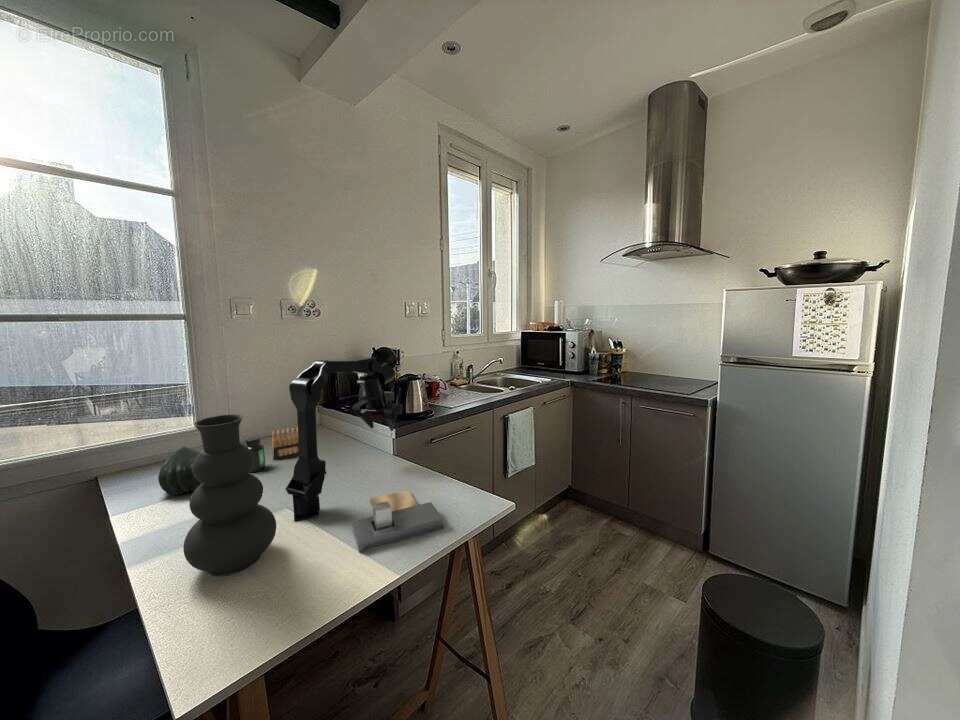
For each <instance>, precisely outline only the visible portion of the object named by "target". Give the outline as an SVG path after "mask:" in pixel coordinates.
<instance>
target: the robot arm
mask: <svg viewBox="0 0 960 720" xmlns="http://www.w3.org/2000/svg"><path fill="white" fill-rule="evenodd" d="M334 373H335V374H336V373H337V374H338V373H357V374H365V375H364V376H362V375H361V376H359V378H358V379H357V381H356V384H357V385H362V388H363V392H364V395H363V396H362V399H360V401H358V402H357V403H355V404H353V405H352V408H351V409H352V413H353V414H355V416H357V417H358V418H360V419H361V420H362V421H363V422H365V424H366V425H367V426H368V427H369V428H370V429H373V428H374V427H375V426H374V420H373V415H372V412H381V413H382V412H383V414H384V416H385V417H384V419H385V423H386V424H387V426H388V428H389V430H390V431H391V432H393V431H394V429H395V424H396V419H397V417H398V416H399V415H400V414H401V413H403V411H404V407H403V404H401V403H394V402H393V401H395V391H385V390H384V389H382V387H381V386H384V385H386V384H388V383H389V382H391V381H392V380H393V379H395V377H396V371H395V370H394V368H393V367H392V366H390V363H389V362H382V363H379V362H378V360H377V358H376V357H372V356H371V357H367V356H359V357H353V358H352V359H348V360H326V359H325V360H323V359H317V360H314V362H313V363H312V364H311V366H309V367H308V368H306V369H304V370H303V371H302V372H300V374H298V376H297V377H296V378H295V379H293V380H292V382H290V383H289V386H288V388H289V389H288V390H289V395H290V399H291V401H292V403H293V405H294V407H295V408H296V411H297V412H296V414H297V416H296V417H297V426H298V442H299V455H298V459H297V461H296V462H295V465H294V466H293V467H294V468H293V474H292V475H293V476H292V478H291V479H290V481H288V482H289V483H288V484H287V486H286V488H285V491H286V493H287V494H288V495H290V496H292V503H293V504H292V505H293V521H294V522H297V521H302V520H306V519H309V518H314V517H319V515H320V511H321V505H320V504H321V503H320V494H322V491H323V490H322V489H323V486H324V482H325V479H326V475H327V470H326V466H327V465H326V463H327V462H326V460H325V459H320V458H319V455H318V437H317V435H318V432H317V407H318V404H319V403H320V401H321V397H322V391H323V389H324V388H325V387H326V385H327V383H328V380H329V376H330V375H331V374H334ZM315 377H316V378H315ZM390 401H391V402H393V403H390V404H389V402H390ZM387 404H389V405H388V406H387ZM385 405H386V406H385Z"/></svg>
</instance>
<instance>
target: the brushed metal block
mask: <svg viewBox="0 0 960 720" xmlns="http://www.w3.org/2000/svg"><path fill="white" fill-rule="evenodd" d="M372 512H373V513H372V514H373V515H372V516H373V518H374V530H375V531H378V530H382V529H386V528H389V527H392V511H391V506H390V504H389V502H388V501H385V502H381V503H377V504H373V508H372Z"/></svg>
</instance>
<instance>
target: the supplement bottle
mask: <svg viewBox="0 0 960 720" xmlns="http://www.w3.org/2000/svg"><path fill="white" fill-rule="evenodd" d="M244 445H245V446H247V447H248V448H249V449H250V450H251V451H252V453H253V456H254V463H253V466H252V468H251V470H250V471H249V472H248V473H250V474H252V473H257V472H258V473H259V472H262V471H263V470H265V468H266V466H267V465H266V464H267V463H266V455H265V446H264V445H263V443H262V442H261V437H260V436H252V437H247V438H245V440H244Z"/></svg>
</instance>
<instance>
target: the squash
mask: <svg viewBox="0 0 960 720" xmlns="http://www.w3.org/2000/svg"><path fill="white" fill-rule="evenodd" d="M199 453H200V451H198V450H195V449H194V448H190V447H187V446H184V445H183V446H182V447H180V448H179V449H177V450H176V451H175V452H174V453H173V454H171V455H170V456H169V457H168V458H167V459H166V460H165V461H164V463H163V465H161V467H160V469H159V472H158V478H157V479H158V483H159V487H160V488H161V489H162V491H164V492H165V493H166V494H169V495H178V494H182V493H184V492H189V491H192V492H194V491H195V490H196V489H197V487H198V486H199V485H200V484H201V482H199V481H198V480H197V479H196V478H195V477H194V475H193V472H192V465H193V462H194V460H195V458H196V457H197V455H198V454H199Z"/></svg>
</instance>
